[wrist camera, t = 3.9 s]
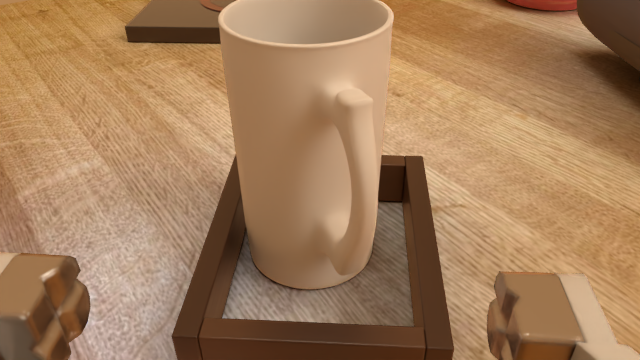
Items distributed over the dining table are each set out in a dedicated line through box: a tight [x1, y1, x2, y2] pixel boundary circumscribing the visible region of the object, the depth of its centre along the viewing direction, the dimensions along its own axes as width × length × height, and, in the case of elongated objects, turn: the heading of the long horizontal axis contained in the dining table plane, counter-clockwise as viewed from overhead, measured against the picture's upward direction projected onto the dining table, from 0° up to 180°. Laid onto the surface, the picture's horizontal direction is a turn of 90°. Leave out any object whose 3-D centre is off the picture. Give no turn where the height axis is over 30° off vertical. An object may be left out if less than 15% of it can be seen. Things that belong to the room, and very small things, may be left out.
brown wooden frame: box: [172, 155, 454, 360], centre depth 26 cm, size 10×13×2 cm
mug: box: [218, 0, 394, 289], centre depth 23 cm, size 10×7×12 cm, turn 19°
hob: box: [125, 0, 237, 43], centre depth 58 cm, size 20×18×2 cm
